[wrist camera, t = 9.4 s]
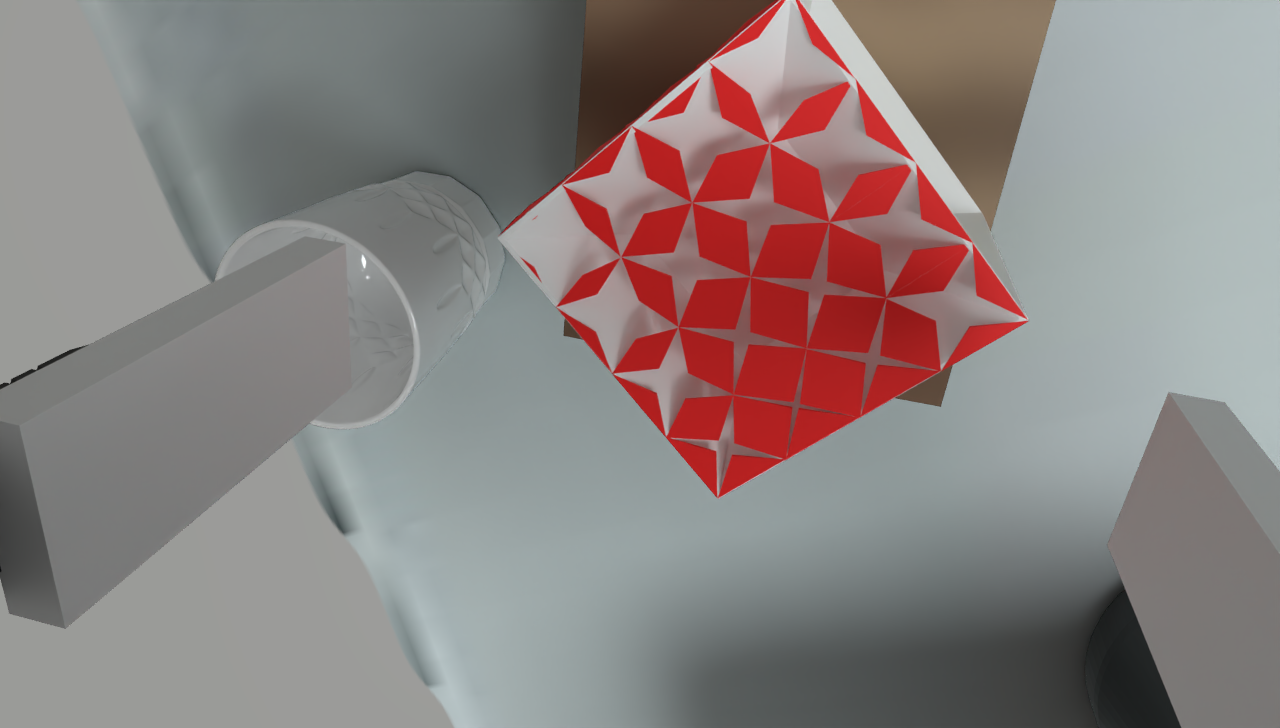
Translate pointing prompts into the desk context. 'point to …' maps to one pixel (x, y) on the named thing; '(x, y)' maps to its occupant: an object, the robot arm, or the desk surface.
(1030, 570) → the desk surface
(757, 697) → the desk surface
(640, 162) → the red white patterned cube
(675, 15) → the walnut pedestal
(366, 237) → the white cup
